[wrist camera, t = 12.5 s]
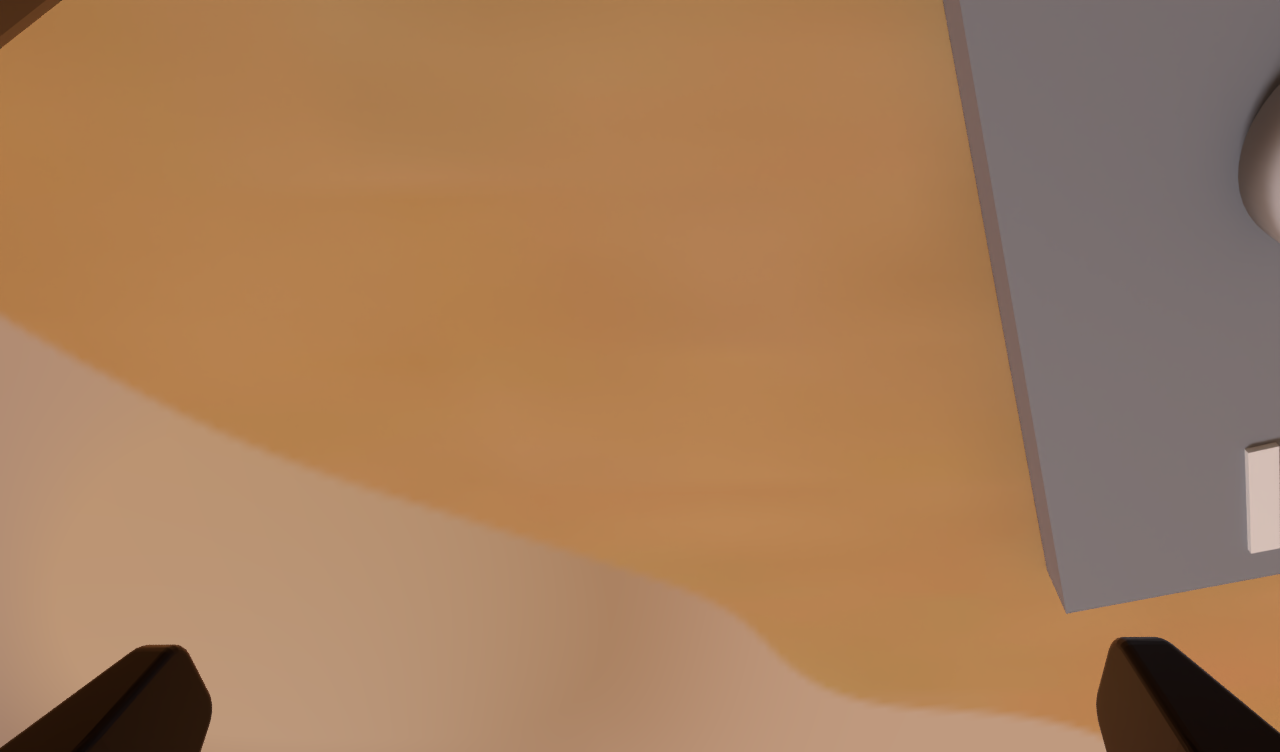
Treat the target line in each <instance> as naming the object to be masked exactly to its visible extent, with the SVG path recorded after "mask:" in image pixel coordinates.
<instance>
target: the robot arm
mask: <svg viewBox="0 0 1280 752" xmlns="http://www.w3.org/2000/svg"><path fill="white" fill-rule="evenodd" d="M60 1H62V0H0V48H2V47H3V46H4V45H5V44H7V43H8V42H9V41H11V40H12V39H13V38H14V37H16V36H17V35H18V34H19V33H21V32H22V31H23V30H25V29H26V28H27V27H28V26H30V25H31V24H32V23H33V22H35V21H36V20H37V19H39V18H40V17H41V16H42V15H44V14H45V13H46V12H48V11H49V10H50V9H51V8H53V7H54V6H55V5H56V4H58V3H59V2H60ZM1096 707H1097V716H1098V722H1099V726H1100V730H1101V733H1102V737H1103V740H1104V744H1105V748H1106V751H1107V752H1280V733H1279V732H1278V731H1277V730H1276V729H1274V728H1273V727H1272V726H1271V725H1270V724H1268V723H1267V722H1266V721H1265V720H1263V719H1262V718H1261V717H1260V716H1259V715H1257V714H1256V713H1255V712H1254V711H1253V710H1251V709H1250V708H1249V707H1248V706H1247V705H1245V704H1244V703H1243V702H1242V701H1240V700H1239V699H1238V698H1237V697H1236V696H1234V695H1233V694H1232V693H1231V692H1230V691H1228V690H1227V689H1226V688H1225V687H1224V686H1222V685H1221V684H1220V683H1219V682H1217V681H1216V680H1215V679H1214V678H1213V677H1211V676H1210V675H1209V674H1208V673H1207V672H1205V671H1204V670H1203V669H1202V668H1201V667H1199V666H1198V665H1197V664H1196V663H1194V662H1193V661H1192V660H1191V659H1190V658H1188V657H1187V656H1186V655H1185V654H1184V653H1182V652H1181V651H1180V650H1179V649H1178V648H1176V647H1175V646H1174V645H1173V644H1171V643H1170V642H1168V641H1166V640H1164V639H1162V638H1158V637H1121V638H1117V639H1116V640H1114V641H1113V642H1112V644H1111V646H1110V648H1109V651H1108V655H1107V659H1106V663H1105V667H1104V670H1103V674H1102V678H1101V682H1100V686H1099V689H1098V693H1097V701H1096ZM211 714H212V702H211V697H210V694H209V692H208V690H207V688H206V686H205V684H204V682H203V680H202V678H201V676H200V674H199V672H198V670H197V669H196V666H195V665H194V663H193V661H192V659H191V657H190V655H189V653H188V652H187V650H186V649H184V648H183V647H181V646H179V645H145V646H141V647H139V648H136V649H135V650H133V651H132V652H130V653H129V654H127V655H126V656H125V657H123V658H122V659H121V660H119V661H118V662H116V663H115V664H114V665H112V666H111V667H110V668H108V669H107V670H106V671H104V672H103V673H101V674H100V675H99V676H97V677H96V678H95V679H93V680H92V681H91V682H89V683H88V684H87V685H85V686H84V687H82V688H81V689H80V690H78V691H77V692H76V693H74V694H73V695H72V696H70V697H69V698H67V699H66V700H65V701H63V702H62V703H61V704H59V705H58V706H57V707H55V708H54V709H53V710H51V711H50V712H48V713H47V714H46V715H44V716H43V717H42V718H40V719H39V720H38V721H36V722H35V723H33V724H32V725H31V726H29V727H28V728H27V729H25V730H24V731H23V732H21V733H20V734H19V735H17V736H16V737H15V738H13V739H12V740H10V741H9V742H8V743H6V744H5V745H4V746H2V747H1V748H0V752H201V748H202V746H203V742H204V740H205V736H206V733H207V730H208V727H209V724H210V720H211Z"/></svg>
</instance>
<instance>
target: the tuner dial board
mask: <svg viewBox="0 0 1280 752" xmlns="http://www.w3.org/2000/svg"><path fill="white" fill-rule="evenodd" d="M943 3H944V9H945V14H946V20H947V25H948V31H949V36H950V42H951V47H952V52H953V58H954V63H955V69H956V74H957V80H958V85H959V91H960V96H961V102H962V107H963V113H964V118H965V124H966V129H967V135H968V140H969V145H970V151H971V156H972V162H973V167H974V173H975V178H976V184H977V189H978V195H979V200H980V206H981V211H982V217H983V222H984V227H985V233H986V238H987V244H988V249H989V255H990V260H991V266H992V271H993V277H994V282H995V288H996V293H997V299H998V304H999V309H1000V315H1001V320H1002V326H1003V331H1004V337H1005V342H1006V348H1007V353H1008V359H1009V364H1010V370H1011V375H1012V381H1013V386H1014V391H1015V397H1016V402H1017V408H1018V413H1019V419H1020V424H1021V430H1022V435H1023V441H1024V446H1025V452H1026V457H1027V463H1028V468H1029V473H1030V479H1031V484H1032V490H1033V495H1034V501H1035V506H1036V512H1037V517H1038V523H1039V528H1040V534H1041V539H1042V545H1043V550H1044V555H1045V561H1046V566H1047V571H1048V573H1049V576H1050V578H1051V580H1052V582H1053V585H1054V587H1055V589H1056V591H1057V594H1058V596H1059V598H1060V600H1061V603H1062V605H1063V607H1064V609H1065V612H1066V614H1067V613H1072V612H1078V611H1083V610H1088V609H1094V608H1099V607H1105V606H1110V605H1115V604H1121V603H1126V602H1131V601H1137V600H1142V599H1147V598H1153V597H1158V596H1164V595H1169V594H1174V593H1180V592H1185V591H1190V590H1196V589H1201V588H1206V587H1212V586H1217V585H1223V584H1228V583H1233V582H1239V581H1244V580H1249V579H1255V578H1260V577H1266V576H1271V575H1276V574H1280V243H1278V242H1277V241H1276V240H1274V239H1273V238H1272V237H1270V236H1269V235H1268V234H1266V233H1265V232H1264V231H1263V230H1262V229H1261V228H1260V227H1258V226H1257V225H1256V224H1255V222H1254V221H1253V220H1252V218H1251V217H1250V216H1249V214H1248V212H1247V210H1246V209H1245V207H1244V205H1243V202H1242V198H1241V195H1240V191H1239V183H1238V166H1239V160H1240V155H1241V150H1242V147H1243V144H1244V141H1245V138H1246V135H1247V133H1248V131H1249V128H1250V126H1251V124H1252V122H1253V120H1254V118H1255V117H1256V115H1257V114H1258V112H1259V110H1260V109H1261V107H1262V105H1263V104H1264V103H1265V101H1266V100H1267V99H1268V97H1269V96H1270V95H1271V94H1272V92H1273V91H1274V90H1275V89H1276V88H1277V87H1278V86H1279V84H1280V0H943Z"/></svg>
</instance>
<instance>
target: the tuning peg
mask: <svg viewBox="0 0 1280 752" xmlns="http://www.w3.org/2000/svg"><path fill="white" fill-rule="evenodd" d="M1238 183H1239V191H1240V195H1241V198H1242V202H1243V205H1244V207H1245V209H1246V210H1247V212H1248V214H1249V216H1250V217H1251V218H1252V220H1253V221H1254V222H1255V224H1256V225H1257V226H1258V227H1260V228H1261V229H1262V230H1263V231H1264V232H1265V233H1266V234H1268V235H1269V236H1270V237H1272V238H1273V239H1274V240H1276V241H1277V242H1278V243H1280V84H1279V86H1278V87H1277V88H1276V89H1275V90H1274V91H1273V92H1272V94H1271V95H1270V96H1269V97H1268V99H1267V100H1266V101H1265V103H1264V104H1263V105H1262V107H1261V109H1260V110H1259V112H1258V114H1257V115H1256V117H1255V118H1254V120H1253V122H1252V124H1251V126H1250V128H1249V131H1248V133H1247V135H1246V138H1245V141H1244V144H1243V147H1242V150H1241V155H1240V160H1239V166H1238Z"/></svg>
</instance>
